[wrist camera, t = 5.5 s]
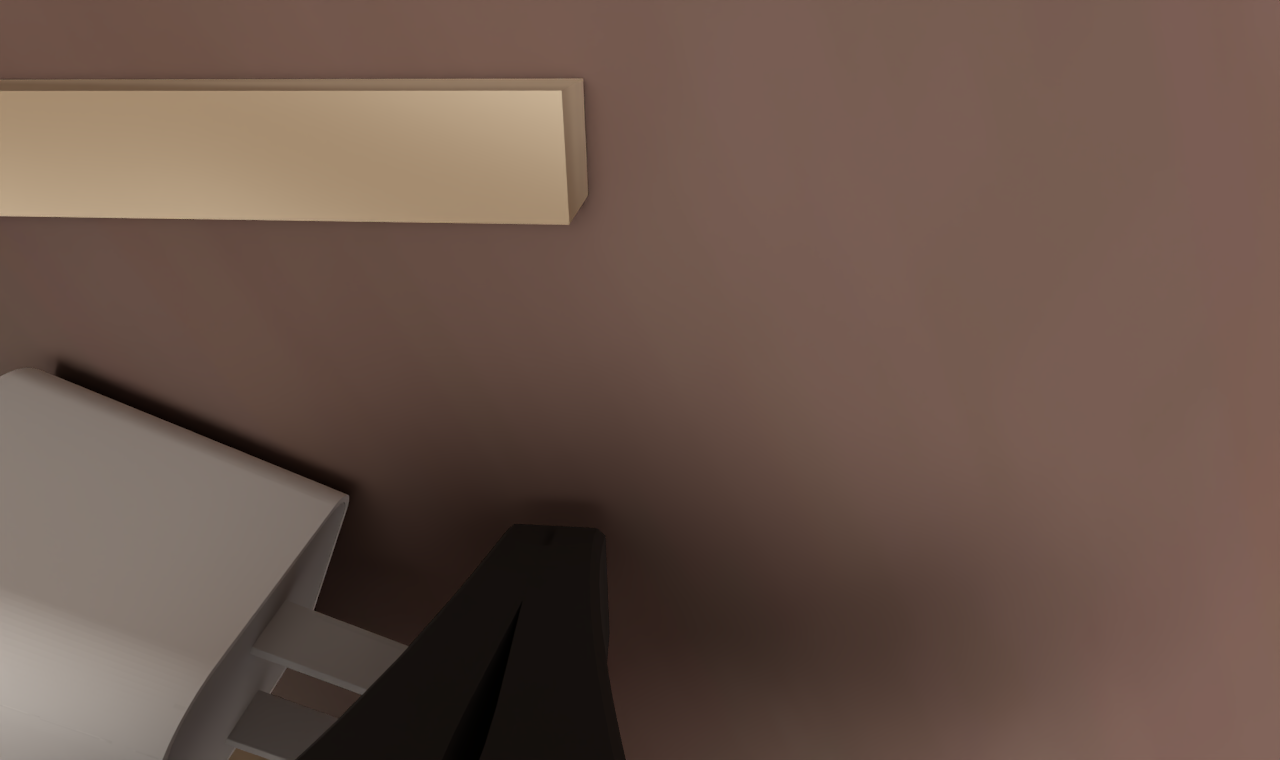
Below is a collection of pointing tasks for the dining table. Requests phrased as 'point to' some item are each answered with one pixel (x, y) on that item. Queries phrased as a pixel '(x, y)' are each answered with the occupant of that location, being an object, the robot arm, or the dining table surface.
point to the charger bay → (295, 151)
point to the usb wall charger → (158, 587)
